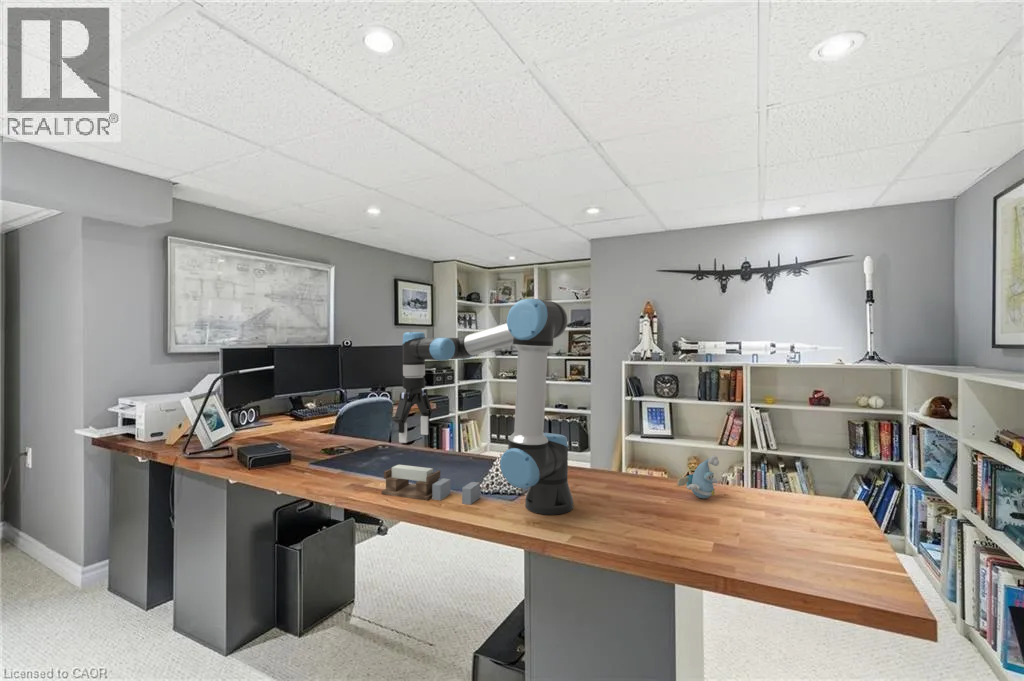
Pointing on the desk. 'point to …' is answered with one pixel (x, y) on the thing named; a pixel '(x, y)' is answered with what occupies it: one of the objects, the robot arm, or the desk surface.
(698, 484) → the toy figure
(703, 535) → the desk surface
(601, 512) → the desk surface
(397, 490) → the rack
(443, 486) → the blocks
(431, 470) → the pale grey long block
